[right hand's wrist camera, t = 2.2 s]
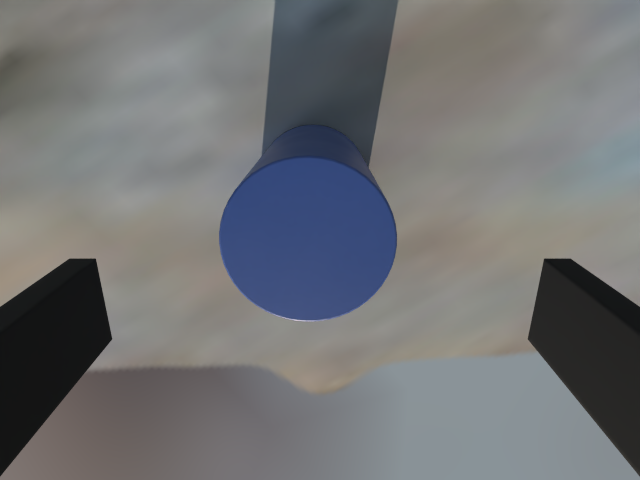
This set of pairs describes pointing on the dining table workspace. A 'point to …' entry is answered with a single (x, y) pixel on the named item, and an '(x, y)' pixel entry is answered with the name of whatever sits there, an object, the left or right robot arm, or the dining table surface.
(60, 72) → the dining table surface
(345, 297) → the canister
